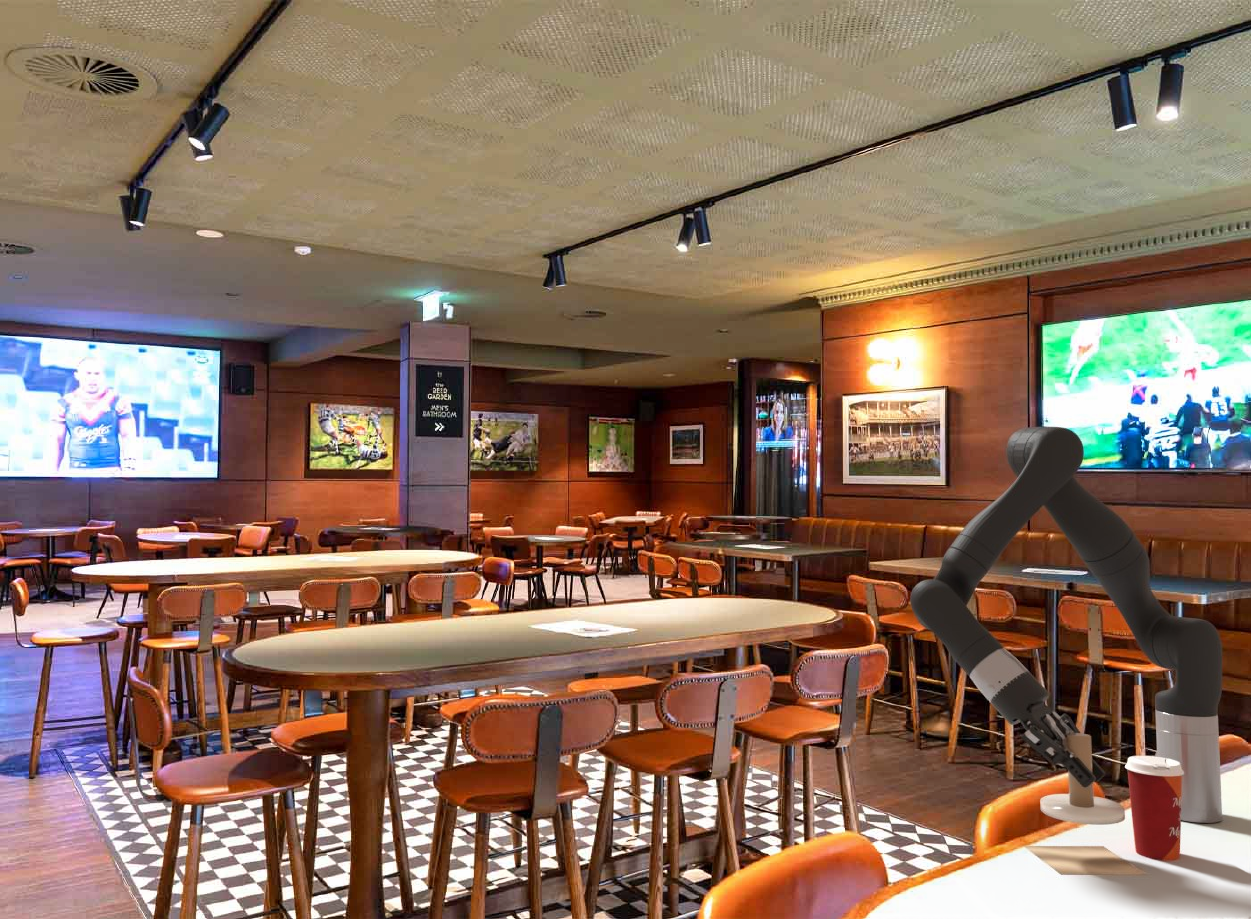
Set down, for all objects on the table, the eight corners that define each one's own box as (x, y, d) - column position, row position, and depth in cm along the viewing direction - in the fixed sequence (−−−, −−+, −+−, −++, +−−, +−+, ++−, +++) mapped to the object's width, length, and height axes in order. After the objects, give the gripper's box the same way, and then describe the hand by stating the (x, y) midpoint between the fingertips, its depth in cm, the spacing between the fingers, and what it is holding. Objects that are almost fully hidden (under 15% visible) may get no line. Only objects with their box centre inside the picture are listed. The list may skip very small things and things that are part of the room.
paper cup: (1196, 869, 135) (1192, 768, 136) (1137, 865, 137) (1134, 765, 138) (1176, 851, 143) (1172, 755, 144) (1120, 847, 144) (1117, 753, 145)
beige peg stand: (1027, 802, 143) (1025, 728, 144) (1100, 801, 143) (1097, 727, 144) (1061, 825, 132) (1058, 744, 133) (1140, 824, 132) (1136, 743, 133)
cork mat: (1023, 850, 143) (1023, 846, 143) (1103, 850, 143) (1103, 846, 143) (1060, 878, 131) (1060, 874, 131) (1147, 879, 131) (1147, 874, 131)
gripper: (1005, 675, 139) (1097, 775, 130) (1043, 664, 149) (1131, 756, 140) (971, 707, 143) (1059, 807, 133) (1010, 695, 153) (1094, 787, 143)
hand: (1095, 780), depth 137 cm, fingers closed on beige peg stand, 3 cm apart
